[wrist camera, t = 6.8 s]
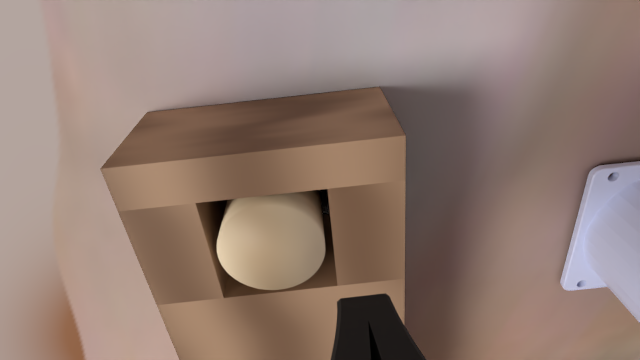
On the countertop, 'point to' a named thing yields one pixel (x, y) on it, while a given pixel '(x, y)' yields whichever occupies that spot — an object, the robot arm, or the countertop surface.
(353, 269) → the collar bar
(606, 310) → the countertop surface
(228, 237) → the peg
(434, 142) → the countertop surface
